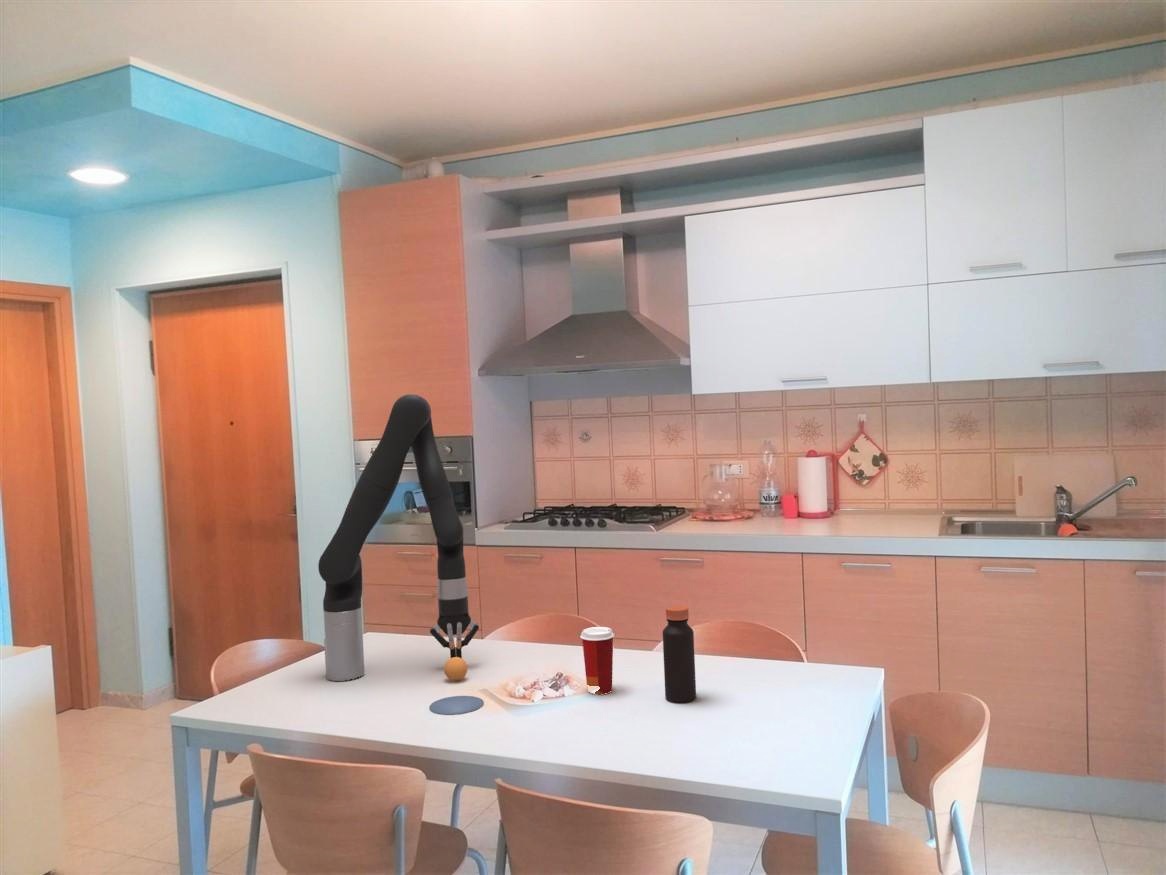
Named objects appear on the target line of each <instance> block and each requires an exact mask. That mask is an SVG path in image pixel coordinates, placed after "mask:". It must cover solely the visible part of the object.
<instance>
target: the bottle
mask: <svg viewBox="0 0 1166 875" xmlns="http://www.w3.org/2000/svg"><path fill="white" fill-rule="evenodd" d="M665 616H666V617H665V618H666V622H667V625H666V626H665V627H664V628H663V629H662V646H663V647H662V650H663V674H664V675H663V676H664V692H665V693H664V696H665V697H664V698H665V699H666V700H667V701H668V702H671V703H674V704H686V703H687V704H688V703H690V702H693V701H695V700H696V698H697V686H696V685H697V683H696V682H697V681H696V667H695V666H696V665H695V663H696V659H695V656H696V655H695V636H694V628H692V627H691V626H690V625H689V624H688V621H689V607H687V606H684V605H670V606H668V607H666V608H665Z"/></svg>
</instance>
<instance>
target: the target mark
mask: <svg viewBox="0 0 1166 875" xmlns="http://www.w3.org/2000/svg"><path fill="white" fill-rule="evenodd" d="M484 703H485V702H484V700H483V699H482V698H480V697H478V696H473V695H454V696H448V697H444V698H440V699H437V700H435V701H432V703H431V704H430V705H429V708H428V709H429V711H430V710H431V711H430V712H432V713H434V714H437V715H443V714H444V715H443V716H445V715H446V716H455V714H457V715H463V714H467V713H468V712H469V713H472V712H475V711H477V710H479V709H480V707H481V708H482V707H483V706H484Z"/></svg>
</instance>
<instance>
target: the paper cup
mask: <svg viewBox="0 0 1166 875" xmlns="http://www.w3.org/2000/svg"><path fill="white" fill-rule="evenodd" d="M614 637H615V634H614V633H613V630H612V628H610V627H606V626H593V627H592V626H591V627H588V628H585V629H582V632H581V634H580V636H579V638H581V640H582V650H583V660H584V671H585V679H586V681H585V682H586V686H587V685H589V686H599V687H600V689H599V690H598V691H596V692H595V694H604V695H606V694H605V693H608V692H610V691H612V692H613V663H614V662H613V659H614V655H613V654H614ZM610 693H611V692H610ZM608 694H609V693H608Z"/></svg>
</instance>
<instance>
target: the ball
mask: <svg viewBox="0 0 1166 875" xmlns="http://www.w3.org/2000/svg"><path fill="white" fill-rule="evenodd" d="M443 670H444V675H445V676H446V678H448V679H449V680H451V681H453V682H455V681H457V680H458V681H460V680H462V679H463V678H465V676H466V675H467V672H468V664H467V662H466V660H464V659H463V657H462V658H459V657H453V658H451V657H450V658H449V659H447V661H446V662H445V664H444V668H443Z"/></svg>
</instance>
